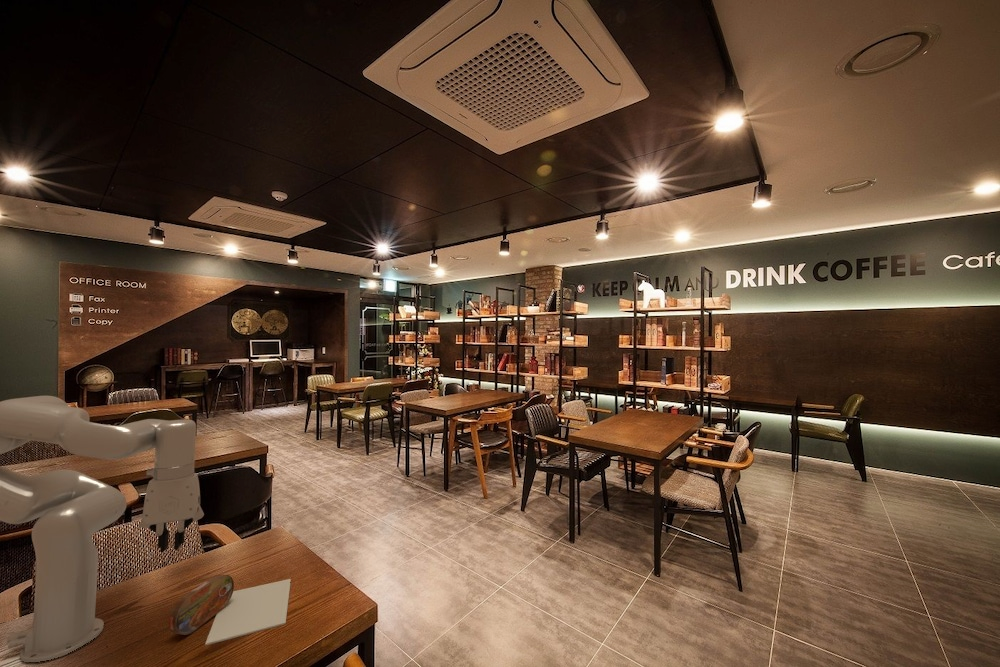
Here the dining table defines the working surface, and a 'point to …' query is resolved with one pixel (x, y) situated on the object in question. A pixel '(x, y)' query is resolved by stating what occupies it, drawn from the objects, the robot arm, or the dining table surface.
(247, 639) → the dining table surface
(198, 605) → the tin
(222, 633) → the mat
